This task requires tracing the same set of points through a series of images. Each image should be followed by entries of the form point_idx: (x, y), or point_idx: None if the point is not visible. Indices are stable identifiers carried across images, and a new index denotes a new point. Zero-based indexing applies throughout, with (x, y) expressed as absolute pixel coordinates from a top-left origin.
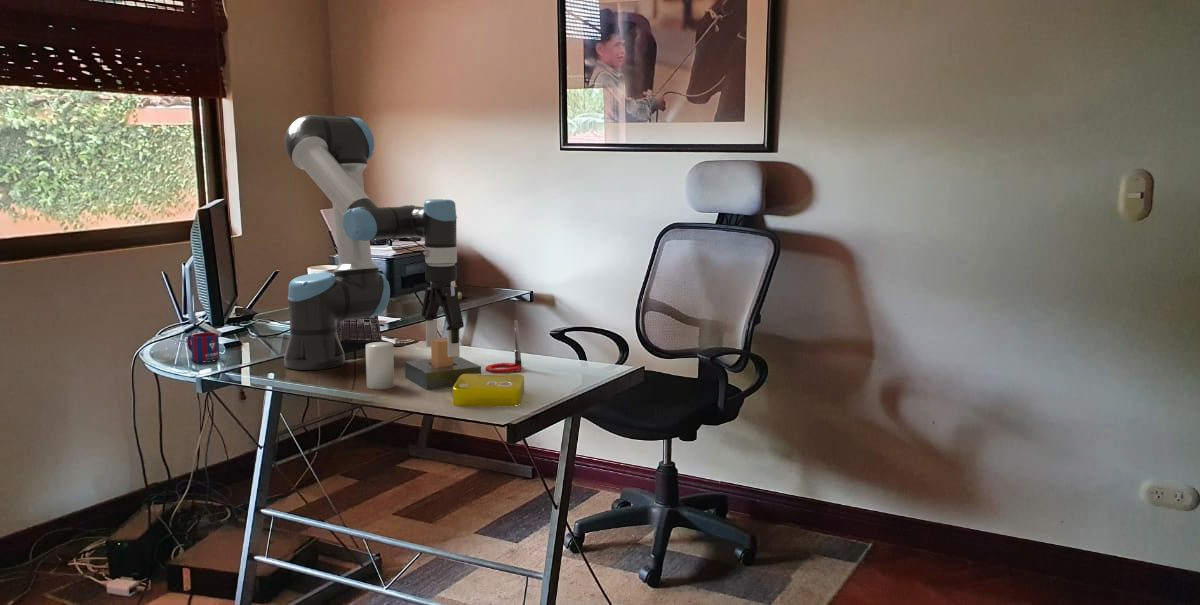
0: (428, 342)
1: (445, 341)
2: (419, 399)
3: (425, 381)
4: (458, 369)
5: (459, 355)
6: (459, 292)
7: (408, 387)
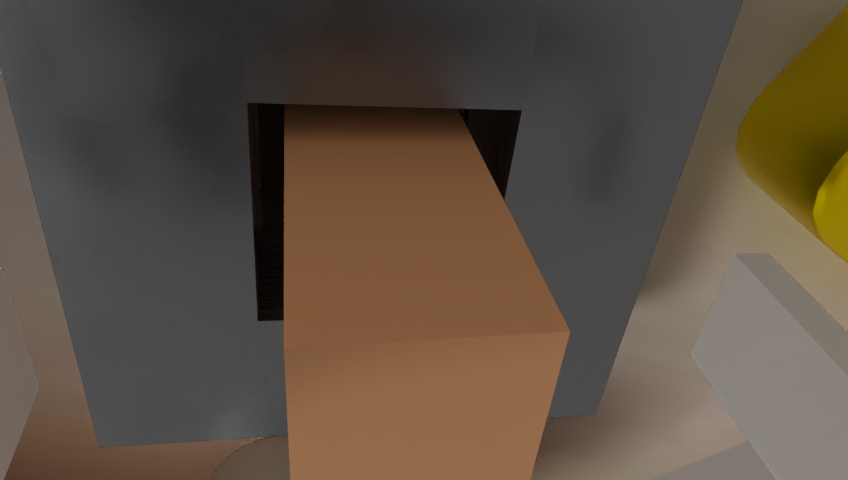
0: (18, 423)
1: (542, 423)
2: (696, 403)
3: None
4: (677, 180)
5: (769, 256)
6: None
7: None
